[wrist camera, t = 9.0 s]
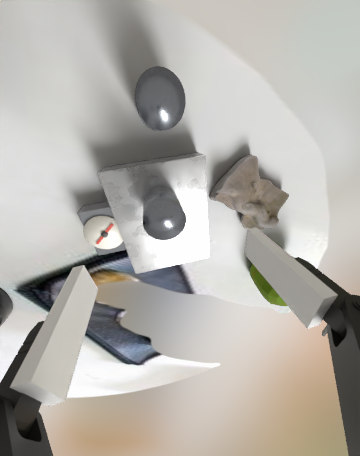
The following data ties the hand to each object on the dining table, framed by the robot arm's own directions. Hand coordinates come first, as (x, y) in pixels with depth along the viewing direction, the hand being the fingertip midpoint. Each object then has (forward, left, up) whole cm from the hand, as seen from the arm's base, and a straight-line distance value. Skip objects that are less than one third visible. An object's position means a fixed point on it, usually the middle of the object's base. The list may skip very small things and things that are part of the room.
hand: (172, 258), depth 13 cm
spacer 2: (0, 0, -12) cm, 12 cm away
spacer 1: (+2, +12, -16) cm, 20 cm away
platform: (0, -3, -13) cm, 13 cm away
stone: (+16, -3, -17) cm, 24 cm away
